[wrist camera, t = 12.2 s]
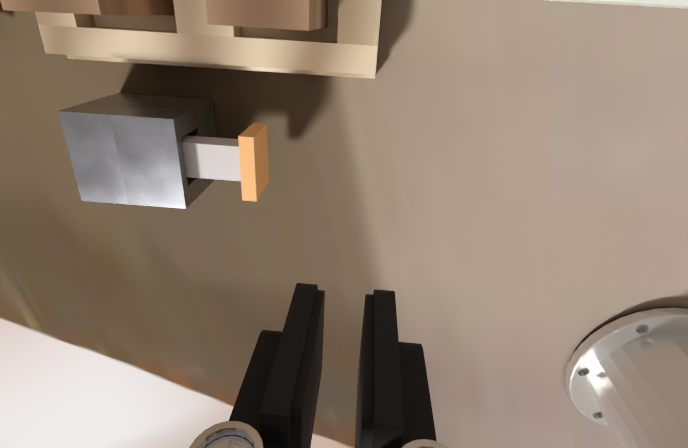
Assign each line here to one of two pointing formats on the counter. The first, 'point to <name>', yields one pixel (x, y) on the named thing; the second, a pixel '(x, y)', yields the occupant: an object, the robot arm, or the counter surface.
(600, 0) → the tote
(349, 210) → the counter surface
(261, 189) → the plunger
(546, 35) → the counter surface
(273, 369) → the robot arm
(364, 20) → the pallet
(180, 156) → the grey metal housing
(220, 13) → the block
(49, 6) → the block
